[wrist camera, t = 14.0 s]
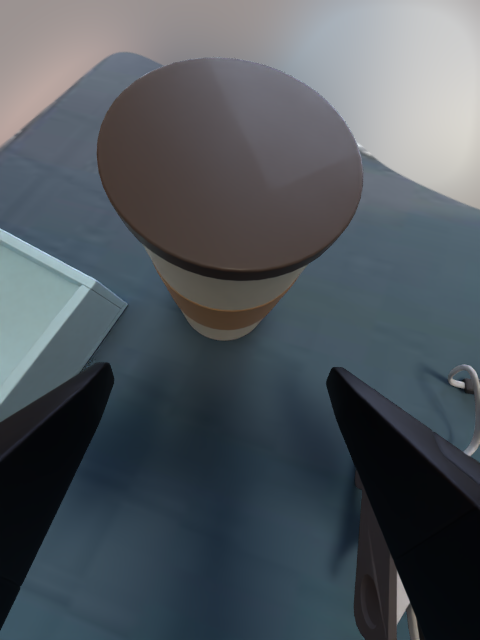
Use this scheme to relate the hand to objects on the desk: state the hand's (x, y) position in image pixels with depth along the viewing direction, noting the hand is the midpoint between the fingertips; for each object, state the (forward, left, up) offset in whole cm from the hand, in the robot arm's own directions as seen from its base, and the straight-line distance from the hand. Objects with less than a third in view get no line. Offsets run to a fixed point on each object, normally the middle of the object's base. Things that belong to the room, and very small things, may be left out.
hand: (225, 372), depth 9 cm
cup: (+6, 0, -8) cm, 10 cm away
